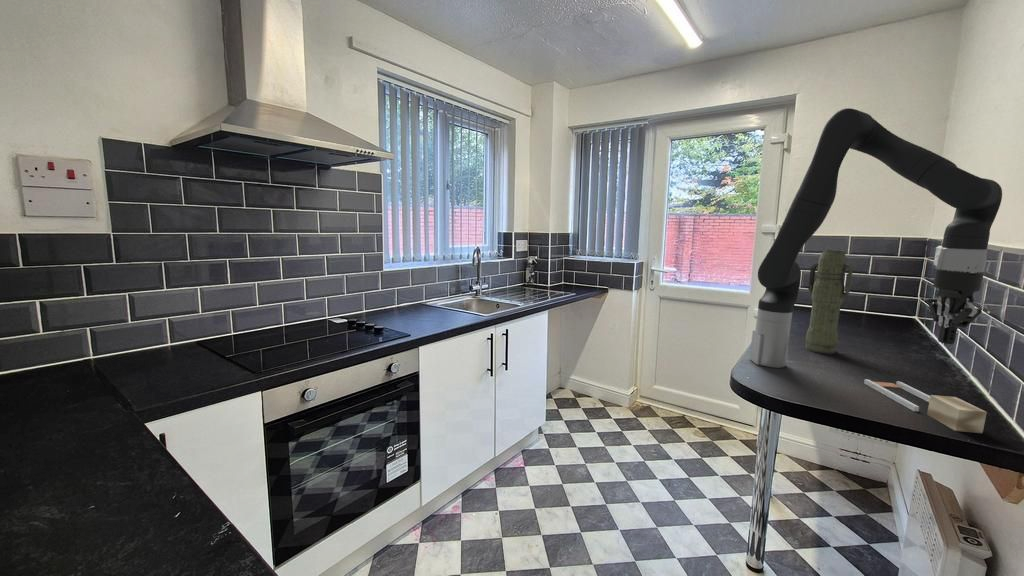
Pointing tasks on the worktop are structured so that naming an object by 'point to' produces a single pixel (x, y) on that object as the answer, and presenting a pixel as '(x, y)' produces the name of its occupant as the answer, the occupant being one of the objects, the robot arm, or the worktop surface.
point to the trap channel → (906, 403)
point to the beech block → (956, 414)
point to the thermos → (827, 301)
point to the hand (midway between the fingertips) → (945, 342)
